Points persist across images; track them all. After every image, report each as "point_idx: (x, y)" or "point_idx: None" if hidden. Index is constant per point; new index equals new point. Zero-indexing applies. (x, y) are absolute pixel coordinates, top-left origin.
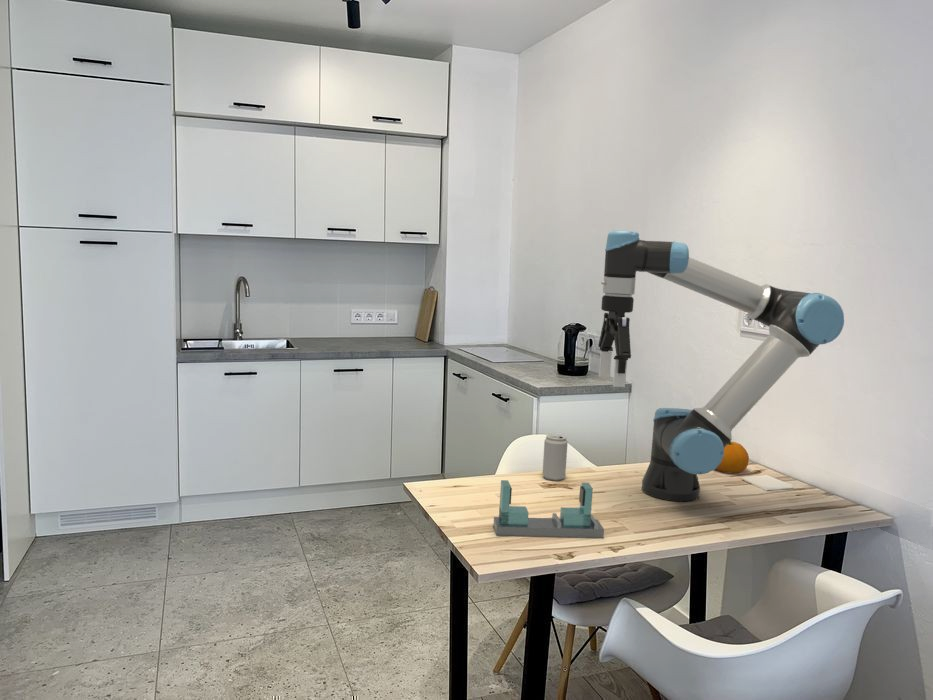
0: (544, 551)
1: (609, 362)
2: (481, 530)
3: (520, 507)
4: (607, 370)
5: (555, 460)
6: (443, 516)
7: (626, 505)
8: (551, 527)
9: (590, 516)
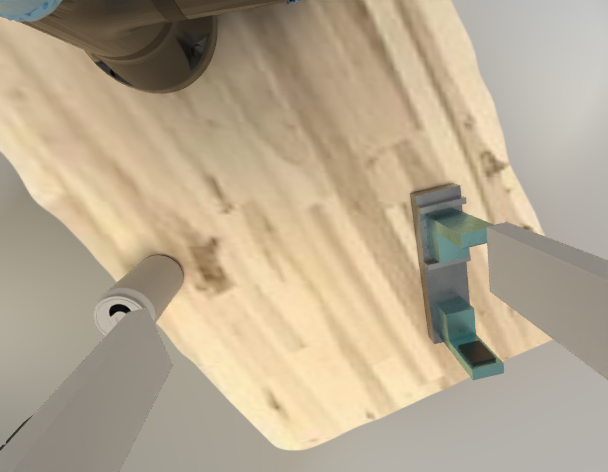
0: None
1: (90, 395)
2: None
3: (451, 321)
4: (131, 353)
5: (169, 291)
6: (407, 396)
7: (278, 135)
8: (464, 265)
9: (464, 213)
